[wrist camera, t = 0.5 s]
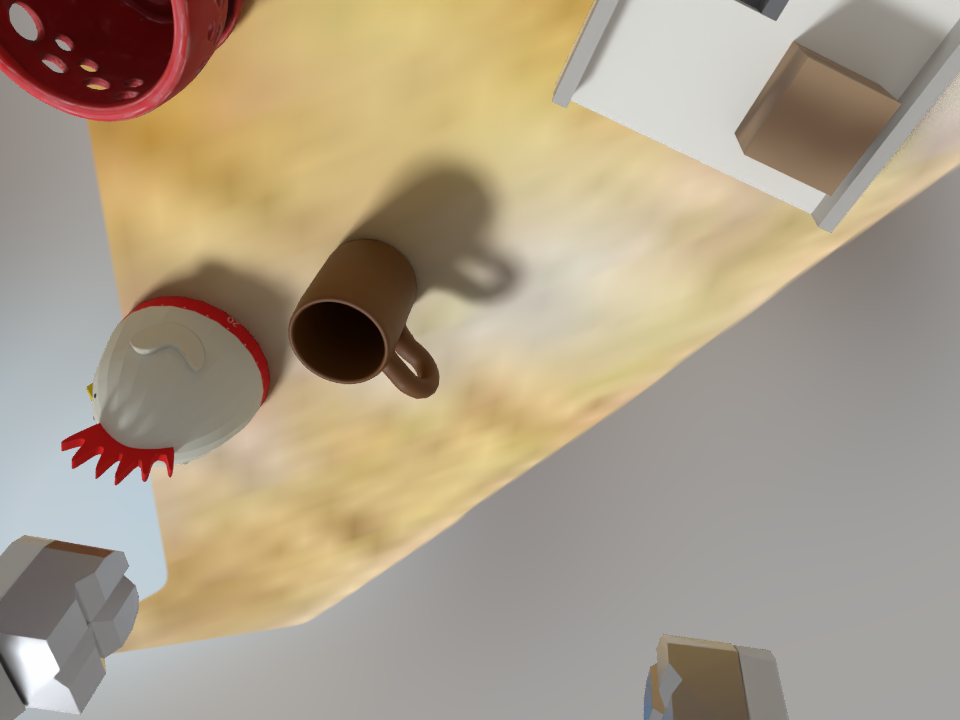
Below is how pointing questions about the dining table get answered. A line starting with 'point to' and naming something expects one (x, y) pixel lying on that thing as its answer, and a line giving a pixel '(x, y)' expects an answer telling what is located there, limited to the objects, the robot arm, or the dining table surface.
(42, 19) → the plant pot
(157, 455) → the kitchen timer
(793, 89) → the block
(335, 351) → the mug
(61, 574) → the robot arm
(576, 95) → the white board with recesses
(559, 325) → the dining table surface
